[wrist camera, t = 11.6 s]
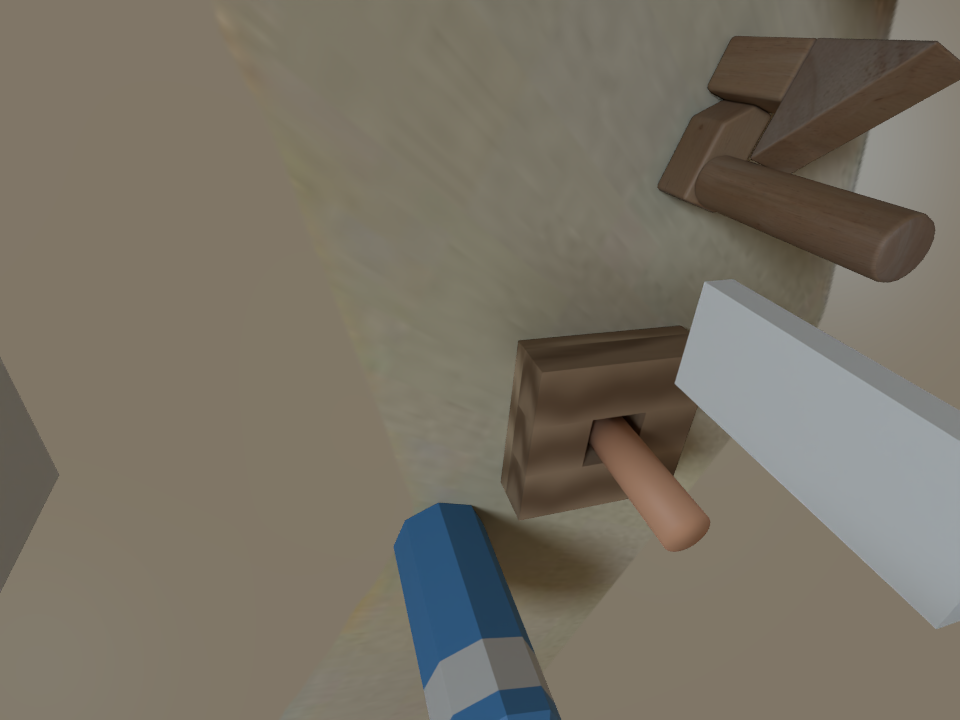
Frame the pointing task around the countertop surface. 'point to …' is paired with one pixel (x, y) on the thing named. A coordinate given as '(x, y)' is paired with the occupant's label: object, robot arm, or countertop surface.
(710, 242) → the countertop surface
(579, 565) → the countertop surface
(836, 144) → the wooden block structure
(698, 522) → the pin
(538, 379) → the socket block
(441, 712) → the water bottle
